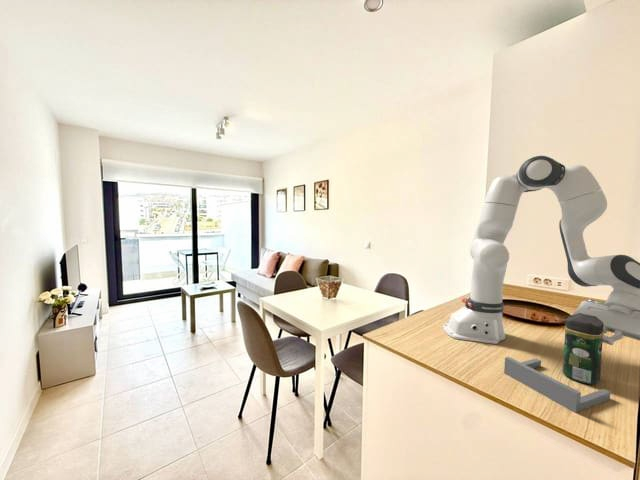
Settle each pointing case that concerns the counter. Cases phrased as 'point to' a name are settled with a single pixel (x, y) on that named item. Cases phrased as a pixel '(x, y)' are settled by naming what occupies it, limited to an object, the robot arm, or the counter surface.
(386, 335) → the counter surface
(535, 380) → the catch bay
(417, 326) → the counter surface
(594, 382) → the coffee jar
